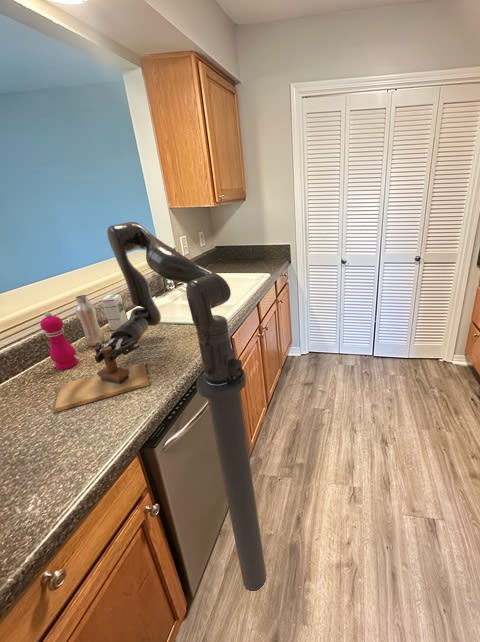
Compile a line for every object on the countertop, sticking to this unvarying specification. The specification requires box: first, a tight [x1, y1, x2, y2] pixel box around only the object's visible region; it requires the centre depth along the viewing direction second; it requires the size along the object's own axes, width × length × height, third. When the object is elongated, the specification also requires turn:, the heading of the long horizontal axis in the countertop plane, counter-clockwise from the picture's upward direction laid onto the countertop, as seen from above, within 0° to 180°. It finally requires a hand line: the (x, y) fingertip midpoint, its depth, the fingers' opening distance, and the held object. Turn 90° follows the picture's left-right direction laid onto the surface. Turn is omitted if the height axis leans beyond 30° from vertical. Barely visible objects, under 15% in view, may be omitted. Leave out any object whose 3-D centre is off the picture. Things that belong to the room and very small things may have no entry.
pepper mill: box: [39, 311, 78, 371], centre depth 110 cm, size 7×7×20 cm
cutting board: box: [54, 362, 150, 413], centre depth 100 cm, size 24×14×1 cm, turn 119°
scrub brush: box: [97, 346, 129, 384], centre depth 99 cm, size 8×4×11 cm, turn 73°
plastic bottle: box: [75, 294, 105, 347], centre depth 125 cm, size 6×7×20 cm
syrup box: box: [101, 293, 129, 331], centre depth 141 cm, size 6×6×14 cm
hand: (103, 359), depth 95 cm, fingers closed on scrub brush, 3 cm apart
